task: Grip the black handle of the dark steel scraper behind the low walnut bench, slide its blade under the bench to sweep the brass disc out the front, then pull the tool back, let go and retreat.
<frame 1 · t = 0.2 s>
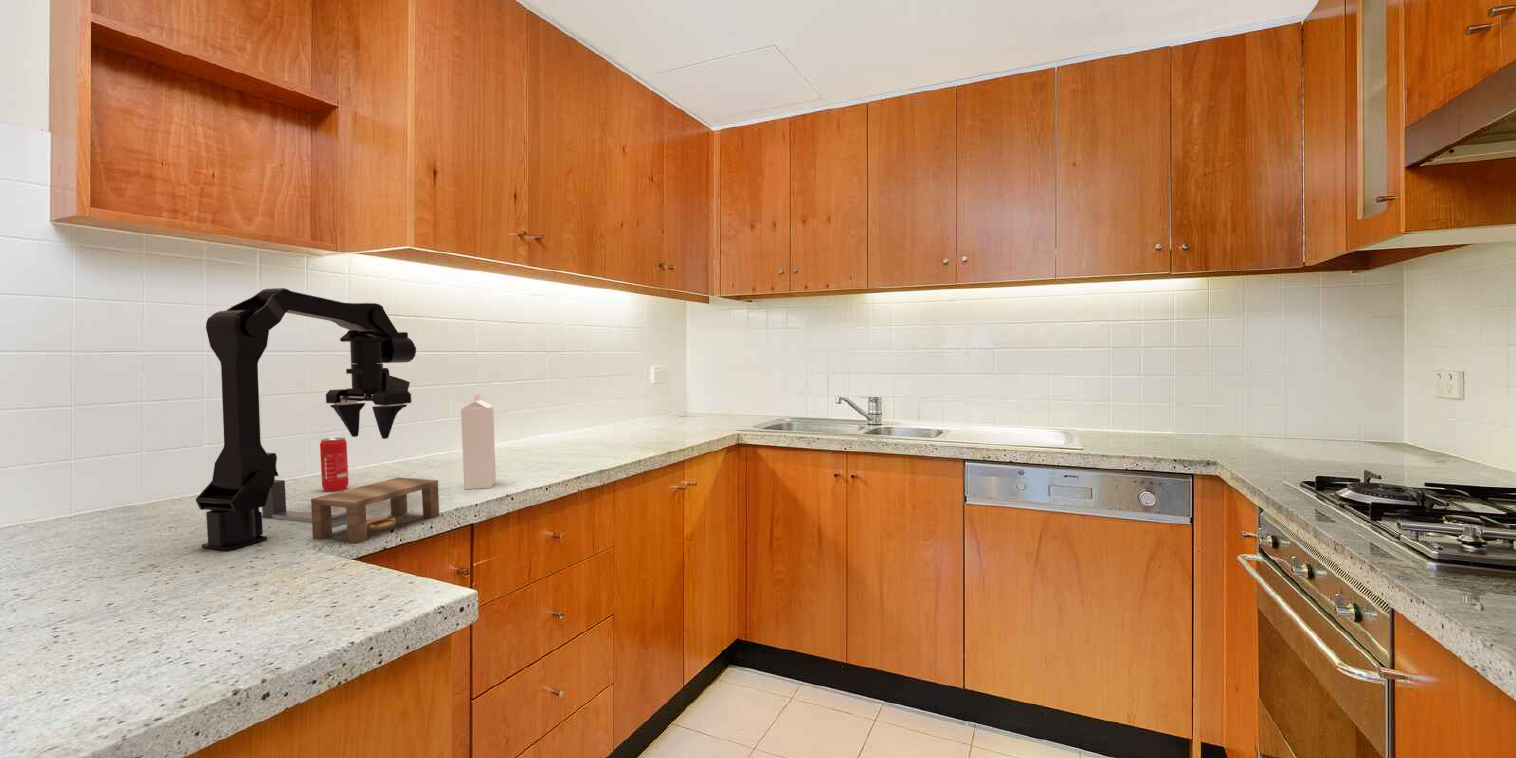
hand: (370, 437, 133), 14 cm above the counter, fingers open, 9 cm apart
beverage can: (335, 490, 148), on the counter
walnut bench: (379, 526, 117), on the counter
brass token: (380, 527, 117), on the counter
milk: (480, 486, 150), on the counter
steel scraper: (274, 516, 125), on the counter
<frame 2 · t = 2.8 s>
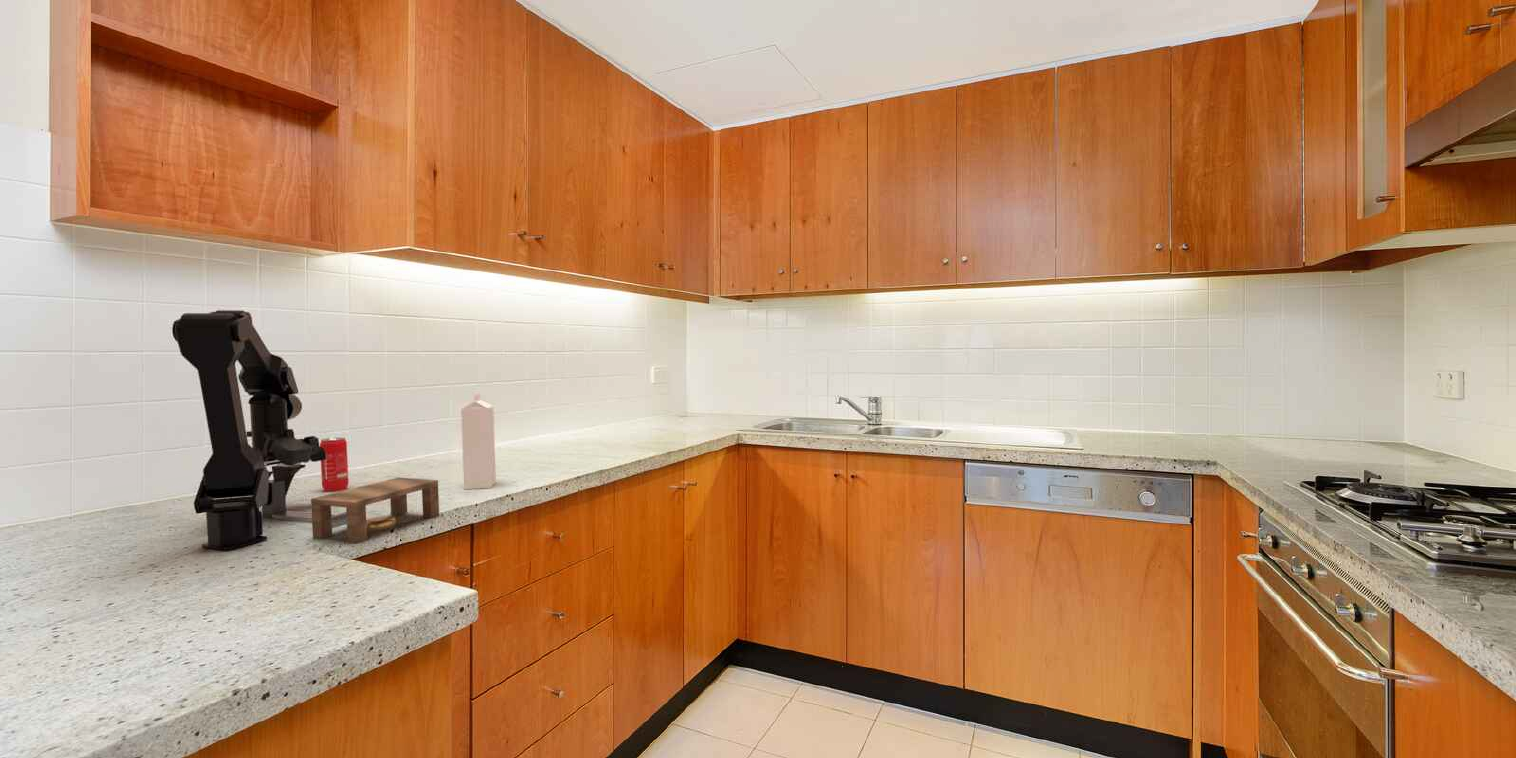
hand: (273, 503, 125), 3 cm above the counter, fingers closed on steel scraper, 2 cm apart
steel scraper: (274, 516, 125), on the counter, touching gripper
everything else where it was.
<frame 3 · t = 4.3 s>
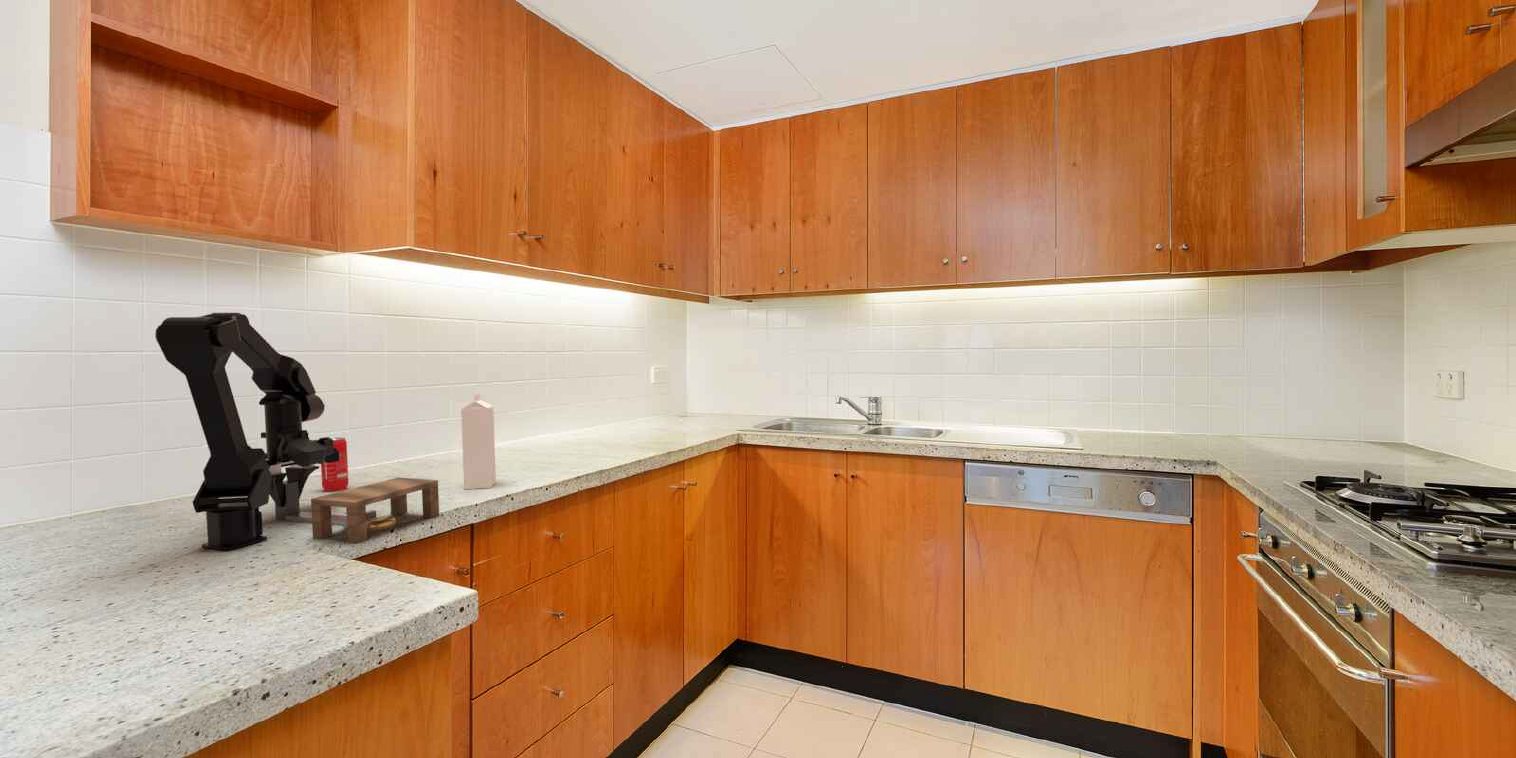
hand: (287, 505, 124), 2 cm above the counter, fingers closed on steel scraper, 2 cm apart
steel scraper: (287, 517, 124), on the counter, touching gripper
everything else where it was.
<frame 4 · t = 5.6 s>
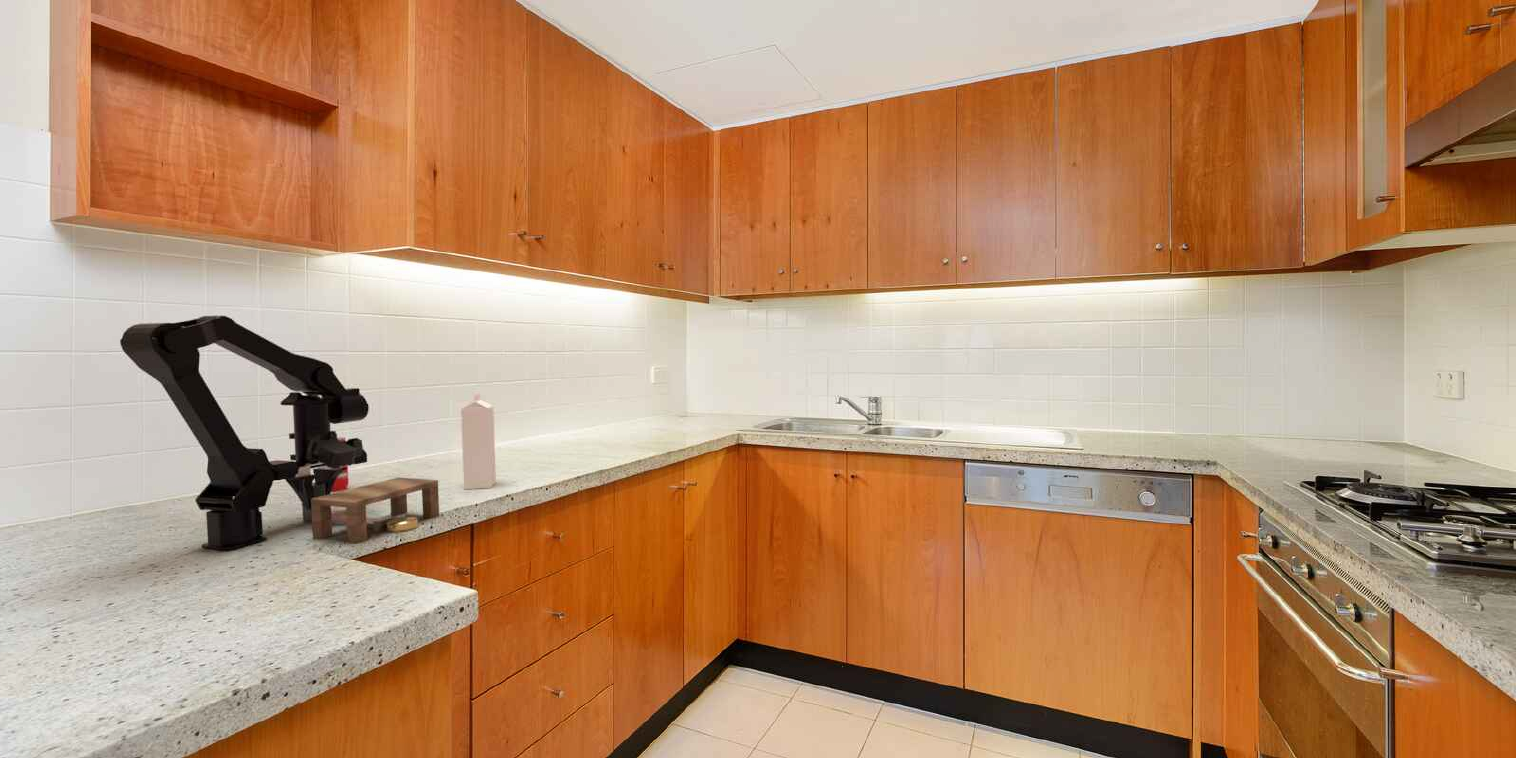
hand: (316, 507, 122), 2 cm above the counter, fingers closed on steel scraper, 2 cm apart
brass token: (402, 528, 116), on the counter, touching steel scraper
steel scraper: (315, 519, 122), on the counter, touching brass token, gripper
everything else where it was.
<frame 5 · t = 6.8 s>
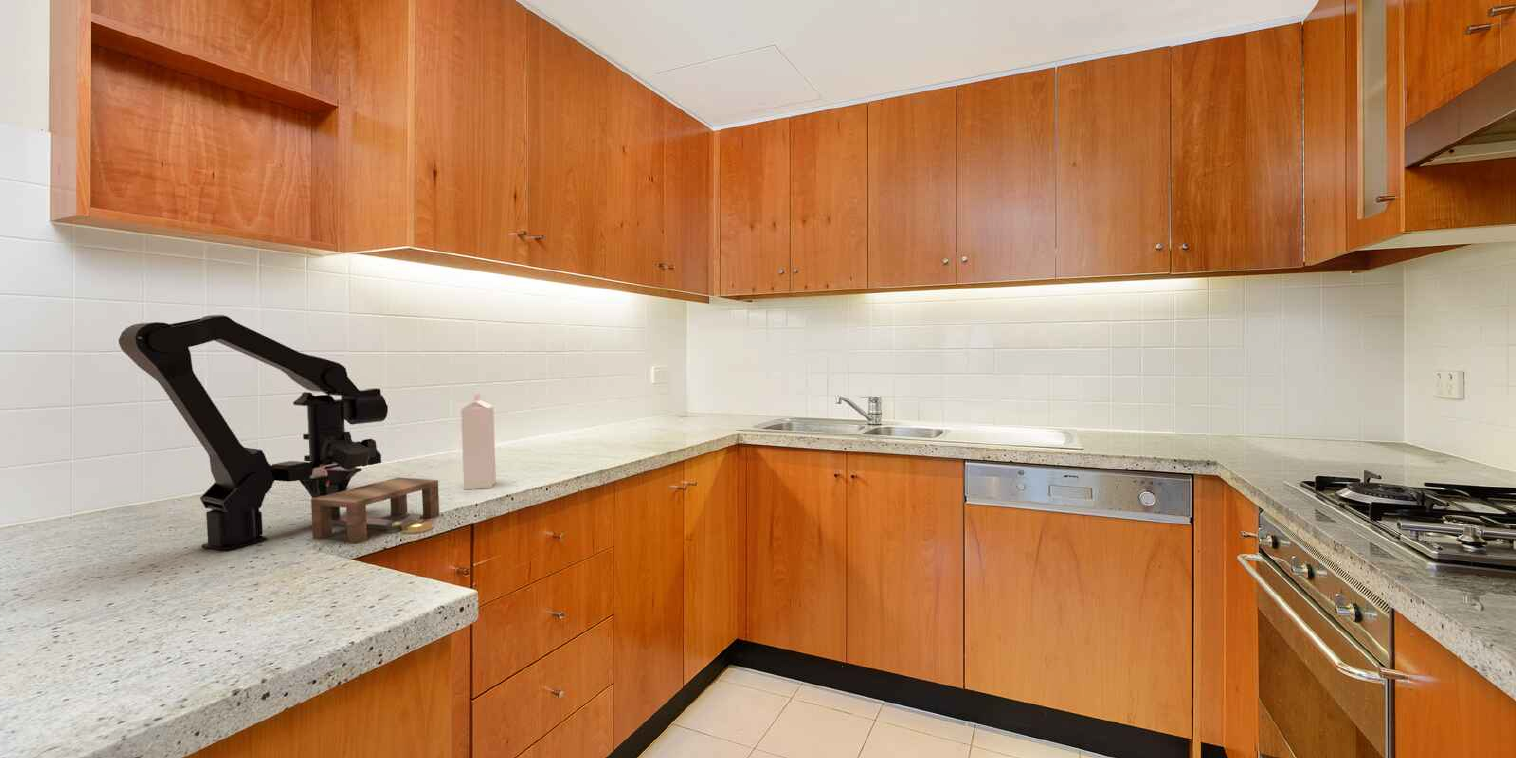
hand: (330, 508, 120), 2 cm above the counter, fingers closed on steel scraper, 2 cm apart
brass token: (417, 531, 114), on the counter
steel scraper: (328, 521, 121), on the counter, touching gripper
everything else where it was.
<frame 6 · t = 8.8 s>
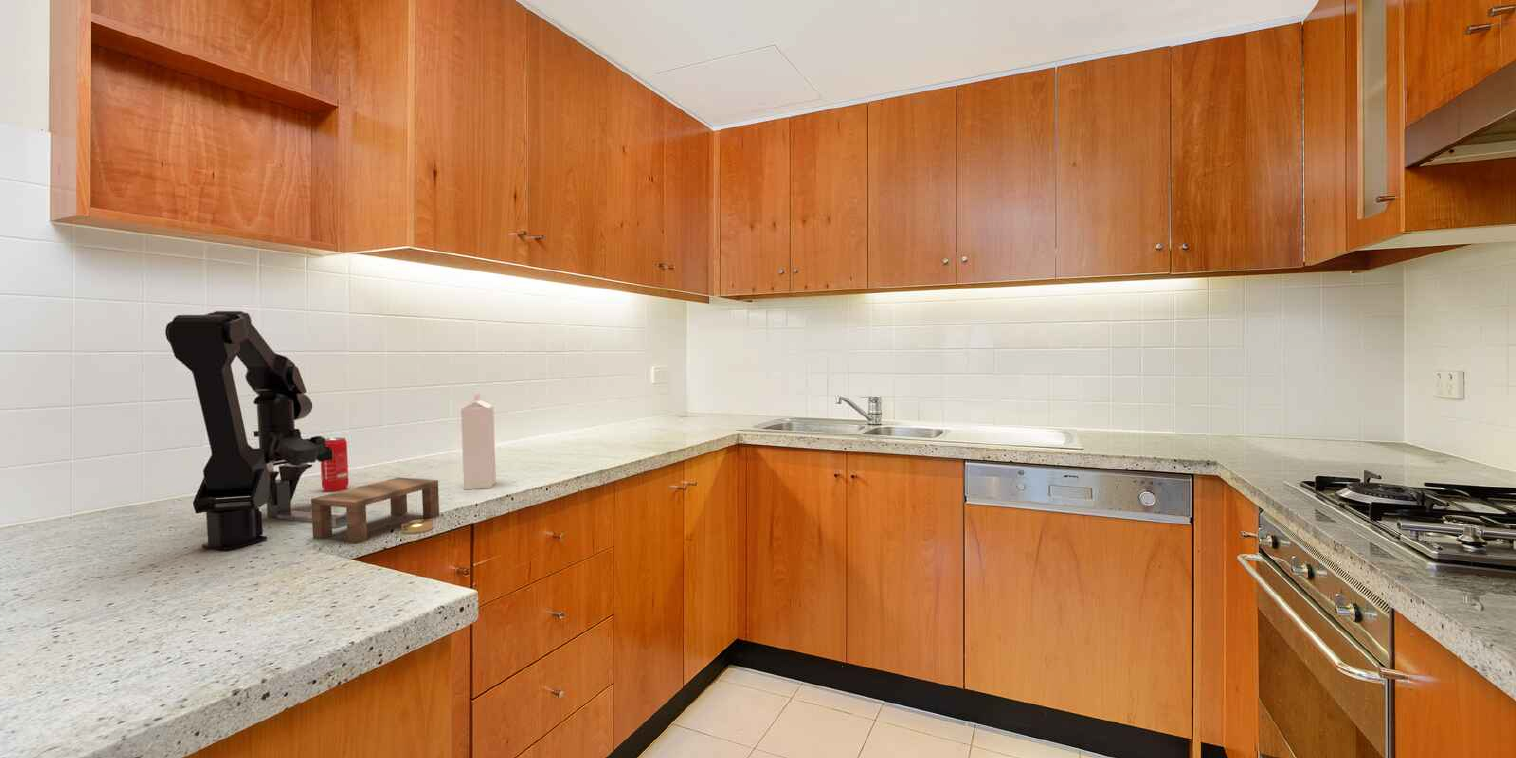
hand: (280, 503, 125), 3 cm above the counter, fingers closed on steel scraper, 2 cm apart
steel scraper: (279, 515, 125), on the counter, touching gripper
everything else where it was.
when the fingers open (3 cm above the counter, at t = 9.6 s): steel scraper stays where it is, on the counter.
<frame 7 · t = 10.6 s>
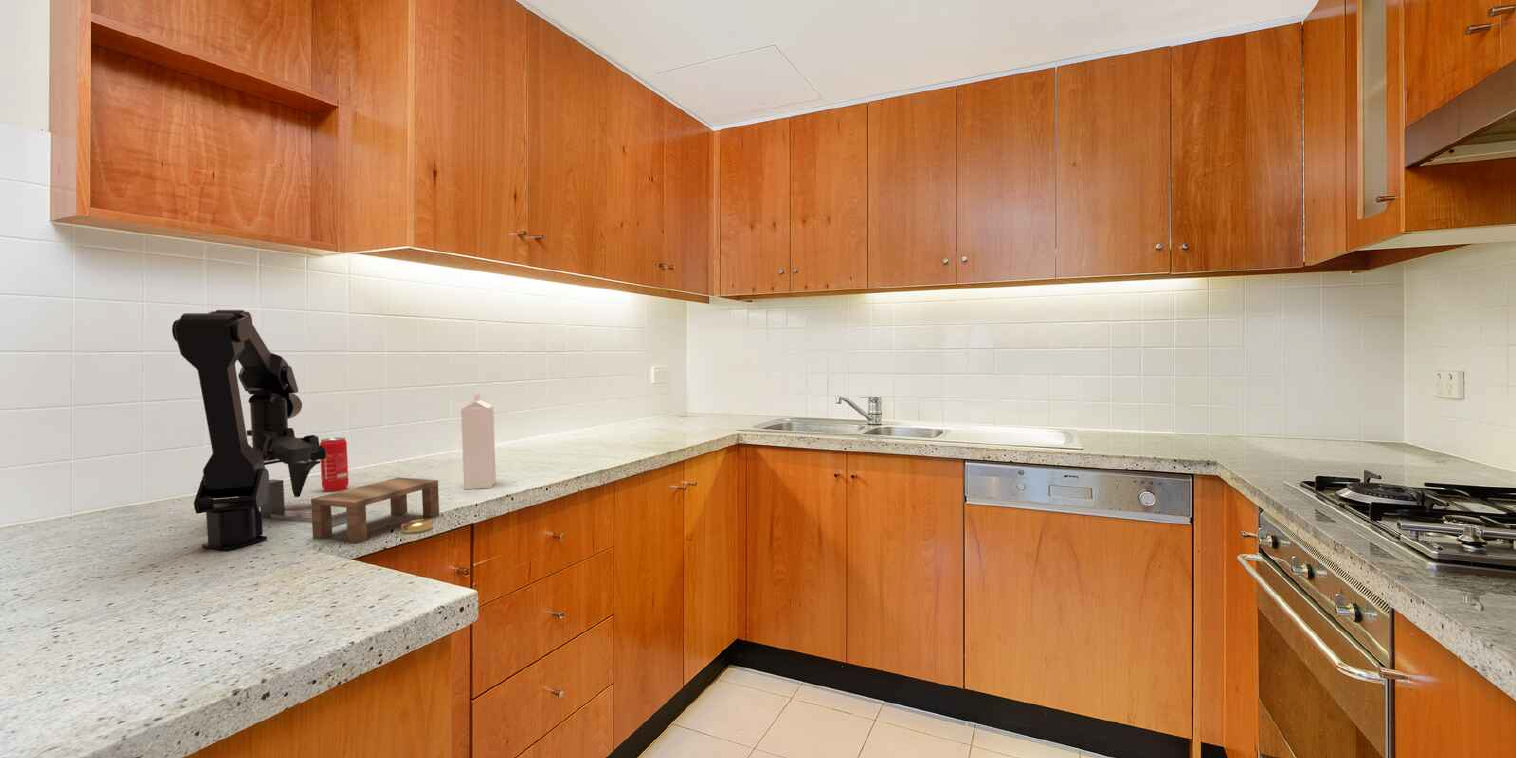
hand: (274, 502, 125), 3 cm above the counter, fingers open, 9 cm apart
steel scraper: (273, 515, 125), on the counter
everything else where it was.
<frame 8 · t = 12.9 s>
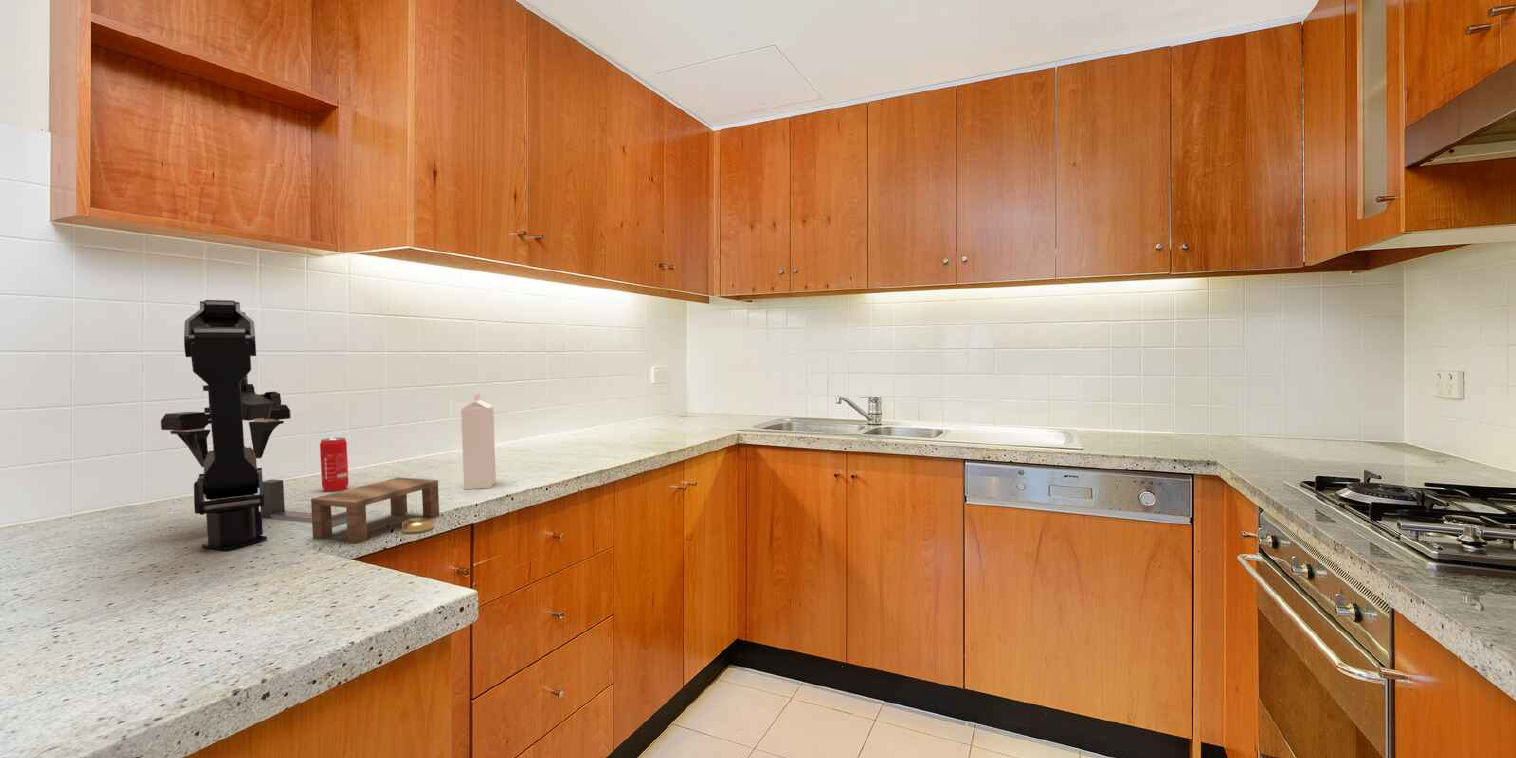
hand: (232, 462, 118), 12 cm above the counter, fingers open, 9 cm apart
nothing on the counter moved.
at the end: brass token inside the target area (3.9 cm from its centre), on the counter; brass token tilted 5°; brass token moved 8.8 cm from its start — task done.
